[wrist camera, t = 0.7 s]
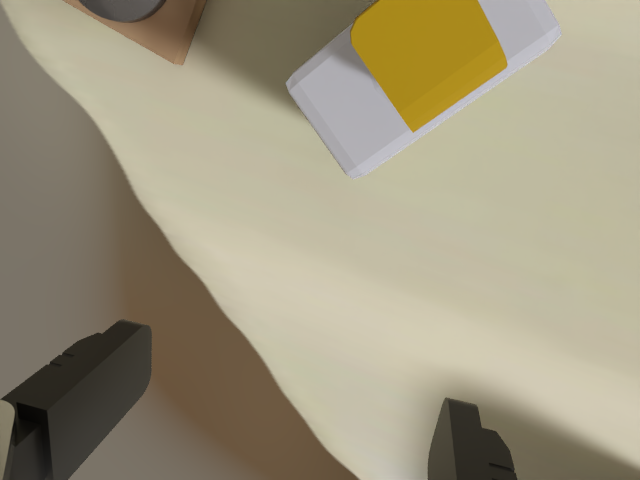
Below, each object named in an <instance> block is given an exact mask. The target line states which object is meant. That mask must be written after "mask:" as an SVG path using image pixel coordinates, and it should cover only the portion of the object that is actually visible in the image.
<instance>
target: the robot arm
mask: <svg viewBox="0 0 640 480" xmlns="http://www.w3.org/2000/svg"><path fill="white" fill-rule="evenodd" d="M151 342H152V333H151V328H150V326H148V325H144V324H140V323H136V322H132V321H128V320H124V319H123V320H119V321H118V322H116V323H115V324H114V325H113V326H111V327H110V328H109V329H108V330H106V331H105V332H104V333H103V334H101V333H96V334H94V335H91V336H89V337H86V338H84V339H81V340H79V341H77V342H76V343H75V344H73V345H72V346H71V347H70V348H68V349H67V350H65V351H64V352H63V354H62V355H59V356H57V357H56V358H55V359H53V360H52V361H51V362H50V364H49V365H45V366H44V367H43V368H41V369H40V370H39V371H37V372H36V373H35V374H33V375H32V376H31V377H30V378H28V379H27V380H25V382H23V383H22V384H20V385H19V386H18V387H16V388H15V389H14V390H12V391H11V392H10V393H9V394H7V395H6V396H4V397H3V398H2V399H0V480H68V479H69V478H70V477H71V475H72V474H73V473H74V472H75V471H76V470H77V469H78V468H79V466H80V465H81V464H82V463H83V462H84V461H85V460H86V459H87V457H88V456H89V455H90V454H91V453H92V452H93V451H94V449H95V448H96V447H97V446H98V445H99V444H100V443H101V442H102V440H103V439H104V438H105V437H106V436H107V435H108V434H109V432H110V431H111V430H112V429H113V428H114V427H115V426H116V424H117V423H118V422H119V421H120V420H121V419H122V418H123V417H124V415H125V414H126V413H127V412H128V411H129V410H130V409H131V408H132V406H133V405H134V404H135V403H136V402H137V401H138V400H139V398H140V397H141V396H142V395H143V394H144V392H145V390H146V388H147V386H148V384H149V381H150V377H151V349H152V348H151V347H152V343H151ZM428 480H517V477H516V473H514V465H513V462H512V458H511V454H510V450H509V449H508V447H507V446H506V444H505V443H504V442H503V440H502V439H501V437H500V436H499V435H498V433H497V432H496V431H492V430H488V429H484V428H482V427H481V422H480V417H479V412H478V407H477V405H475V404H471V403H467V402H463V401H459V400H454V399H450V398H445V399H444V402H443V404H442V408H441V411H440V415H439V418H438V422H437V425H436V429H435V432H434V436H433V439H432V443H431V447H430V452H429V459H428Z"/></svg>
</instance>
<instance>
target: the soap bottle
mask: <svg viewBox="0 0 640 480" xmlns="http://www.w3.org/2000/svg"><path fill="white" fill-rule="evenodd" d="M561 35H562V34H561V30H560V26H559V23H558V21H557V20H556V18H555V16H554V15H553V13H552V11H551V9H550V8H549V6H548V4H547V3H546V1H545V0H377V1H375V2H374V3H373V4H372V5H371V6H369V7H368V8H367V9H366V10H365V11H363V12H362V13H361V14H360V15H359V16H357V17H356V18H355V21H354V22H353V23H352V24H351V25H349V26H348V27H347V28H346V29H345V30H343V31H342V32H341V33H340V34H339V35H337V36H336V37H335V38H334V39H333V40H331V41H330V42H329V43H328V44H327V45H325V46H324V47H323V48H322V49H321V50H319V51H318V52H317V53H316V54H315V55H313V56H312V57H311V58H310V59H309V60H307V61H306V62H305V63H304V64H303V65H301V66H300V67H299V68H298V69H297V70H295V71H294V72H293V74H292V75H291V77H290V78H289V79H288V81H287V82H286V83H285V84H286V86H287V88H288V91H289V94H290V95H291V97H292V98H293V100H294V101H295V103H296V104H297V105H298V107H299V108H300V110H301V111H302V113H303V114H304V115H305V117H306V118H307V120H308V121H309V122H310V124H311V125H312V127H313V128H314V130H315V131H316V132H317V134H318V135H319V137H320V138H321V140H322V141H323V142H324V144H325V145H326V147H327V148H328V150H329V151H330V152H331V154H332V155H333V157H334V158H335V160H336V161H337V162H338V164H339V165H340V167H341V168H342V169H343V171H344V172H345V174H347V175H348V176H350V177H351V178H352V179H356V178H359V177H362V176H365V175H367V174H368V173H370V172H371V171H372V170H374V169H375V168H377V167H378V166H380V165H381V164H383V163H384V162H386V161H387V160H388V159H390V158H391V157H393V156H394V155H396V154H397V153H399V152H400V151H402V150H403V149H404V148H406V147H407V146H409V145H410V144H412V143H413V142H415V141H416V140H418V139H419V138H420V137H422V136H423V135H425V134H426V133H428V132H429V131H431V130H432V129H434V128H435V127H436V126H438V125H439V124H441V123H442V122H444V121H445V120H447V119H448V118H450V117H451V116H452V115H454V114H455V113H457V112H458V111H460V110H461V109H463V108H464V107H466V106H467V105H468V104H470V103H471V102H473V101H474V100H476V99H477V98H479V97H480V96H482V95H483V94H484V93H486V92H487V91H489V90H490V89H492V88H493V87H495V86H496V85H498V84H499V83H500V82H502V81H503V80H505V79H506V78H508V77H509V76H511V75H512V74H514V73H515V72H516V71H518V70H519V69H521V68H522V67H524V66H525V65H527V64H528V63H530V62H531V61H532V60H534V59H535V58H537V57H538V56H540V55H541V54H543V53H544V52H546V51H547V50H548V49H549V48H550V47H551V46H552V45H553V44H554V43H555V42H556V40H557V39H558V38H559V37H560V36H561Z"/></svg>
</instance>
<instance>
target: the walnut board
mask: <svg viewBox="0 0 640 480" xmlns="http://www.w3.org/2000/svg"><path fill="white" fill-rule="evenodd" d="M63 1H65V2H66V3H68V4H70V5H72V6H73V7H75V8H77V9H79V10H80V11H82V12H84V13H86V14H87V15H89V16H91V17H93V18H94V19H96V20H98V21H100V22H101V23H103V24H105V25H107V26H108V27H110V28H112V29H114V30H115V31H117V32H119V33H121V34H122V35H124V36H126V37H128V38H129V39H131V40H133V41H135V42H136V43H138V44H140V45H142V46H143V47H145V48H147V49H149V50H150V51H152V52H154V53H156V54H157V55H159V56H161V57H163V58H164V59H166V60H168V61H170V62H171V63H173V64H180V65H183V63H184V60H185V57H186V55H187V52H188V49H189V47H190V44H191V41H192V38H193V36H194V33H195V30H196V28H197V25H198V22H199V20H200V17H201V14H202V11H203V9H204V6H205V3H206V1H207V0H167V1H166V2H165V3H164V5H163V6H162V7H161V8H160V9H159V10H158V11H157V12H156V13H155V14H153V15H152V16H151V17H149V18H147V19H145V20H142V21H139V22H134V23H121V22H116V21H112V20H108V19H105V18H102V17H100V16H98V15H96V14H94V13H93V12H91V11H89V10H88V9H87V8H86V7H85V6H83V5H82V4H81V3H80V1H79V0H63Z"/></svg>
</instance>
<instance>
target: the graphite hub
mask: <svg viewBox="0 0 640 480" xmlns="http://www.w3.org/2000/svg"><path fill="white" fill-rule="evenodd" d="M79 1H80V3H81V4H82V5H83V6H85V7H86V8H87V9H88V10H89V11H91V12H93V13H94V14H96V15H98V16H100V17H102V18H105V19H108V20H112V21H116V22H121V23H134V22H139V21H142V20H145V19H147V18H149V17H151V16H152V15H153V14H155V13H156V12H157V11H158V10H159V9H160V8H161V7H162V6H163V5H164V3H165V2H166V1H167V0H79Z"/></svg>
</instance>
